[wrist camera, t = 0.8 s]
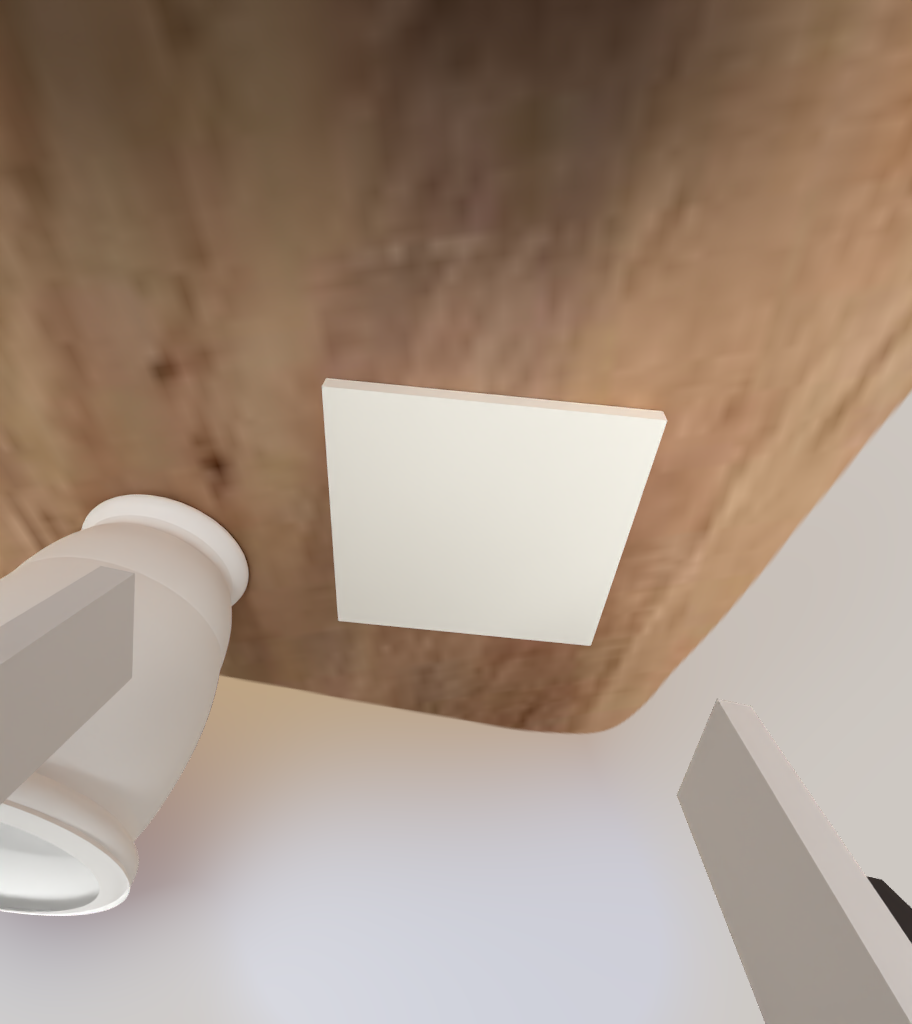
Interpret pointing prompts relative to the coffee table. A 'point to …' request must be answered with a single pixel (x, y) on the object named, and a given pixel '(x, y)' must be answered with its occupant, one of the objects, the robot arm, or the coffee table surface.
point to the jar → (121, 702)
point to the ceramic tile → (480, 507)
